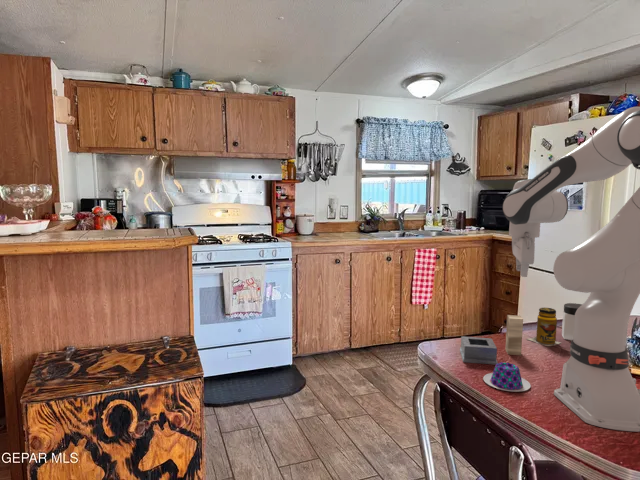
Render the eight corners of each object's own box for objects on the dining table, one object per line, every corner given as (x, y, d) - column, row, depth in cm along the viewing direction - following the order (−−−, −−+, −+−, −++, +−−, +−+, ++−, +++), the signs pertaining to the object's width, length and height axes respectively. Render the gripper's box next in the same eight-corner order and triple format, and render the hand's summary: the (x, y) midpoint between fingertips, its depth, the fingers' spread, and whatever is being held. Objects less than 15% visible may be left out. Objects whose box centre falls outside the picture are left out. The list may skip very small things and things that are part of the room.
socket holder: (497, 364, 131) (498, 348, 130) (463, 362, 133) (463, 346, 133) (491, 353, 141) (492, 338, 140) (459, 350, 143) (460, 335, 142)
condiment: (548, 347, 147) (550, 312, 145) (526, 339, 154) (528, 306, 153) (561, 343, 150) (563, 310, 149) (539, 336, 157) (541, 304, 156)
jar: (571, 342, 151) (573, 309, 149) (555, 335, 159) (557, 303, 157) (594, 341, 152) (597, 308, 151) (577, 334, 160) (580, 302, 159)
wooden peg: (521, 355, 139) (523, 319, 138) (507, 354, 140) (509, 318, 138) (518, 350, 143) (520, 315, 141) (505, 350, 144) (507, 314, 142)
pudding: (535, 396, 111) (536, 377, 110) (485, 391, 114) (486, 372, 114) (525, 377, 123) (526, 359, 122) (480, 373, 126) (481, 355, 125)
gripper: (541, 234, 126) (538, 280, 128) (529, 228, 145) (527, 268, 147) (518, 233, 128) (515, 279, 129) (509, 227, 147) (507, 267, 149)
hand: (521, 273), depth 138 cm, fingers open, 8 cm apart
